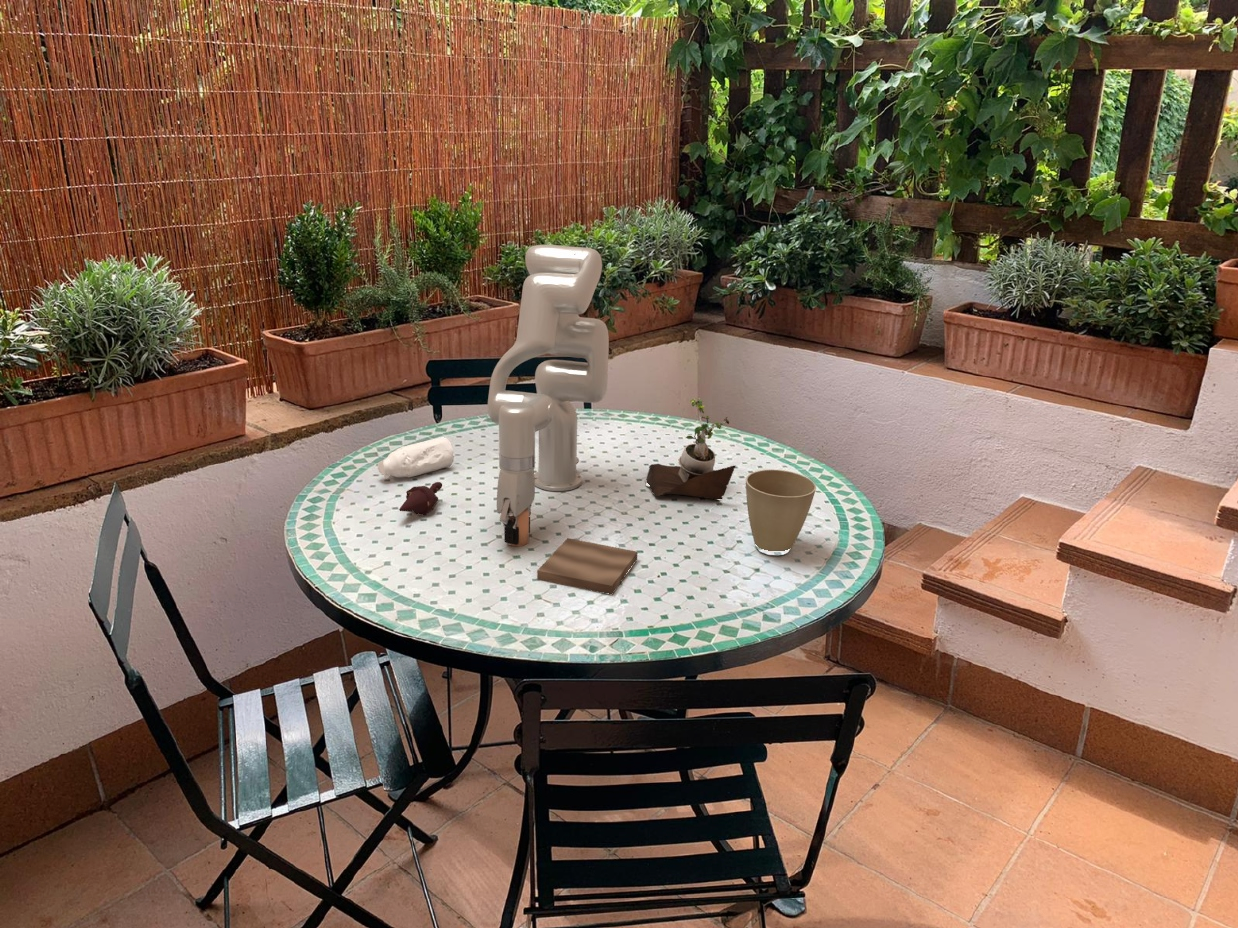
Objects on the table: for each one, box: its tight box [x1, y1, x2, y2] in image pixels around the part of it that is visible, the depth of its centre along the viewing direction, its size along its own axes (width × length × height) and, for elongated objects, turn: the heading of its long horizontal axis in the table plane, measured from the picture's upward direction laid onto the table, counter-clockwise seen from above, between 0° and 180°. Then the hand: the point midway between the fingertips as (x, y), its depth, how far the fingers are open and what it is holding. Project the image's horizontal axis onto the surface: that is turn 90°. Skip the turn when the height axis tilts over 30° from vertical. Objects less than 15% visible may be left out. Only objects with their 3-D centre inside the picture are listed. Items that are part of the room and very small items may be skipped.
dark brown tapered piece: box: [398, 481, 443, 516], centre depth 212 cm, size 7×7×15 cm
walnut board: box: [536, 537, 638, 595], centre depth 191 cm, size 16×16×2 cm
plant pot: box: [745, 469, 817, 551], centre depth 200 cm, size 15×15×16 cm
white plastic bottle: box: [377, 436, 455, 479], centre depth 234 cm, size 8×19×8 cm, turn 133°
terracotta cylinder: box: [506, 509, 530, 547], centre depth 201 cm, size 5×5×7 cm
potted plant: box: [646, 398, 736, 500], centre depth 229 cm, size 20×19×25 cm
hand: (517, 536), depth 202 cm, fingers closed on terracotta cylinder, 5 cm apart
